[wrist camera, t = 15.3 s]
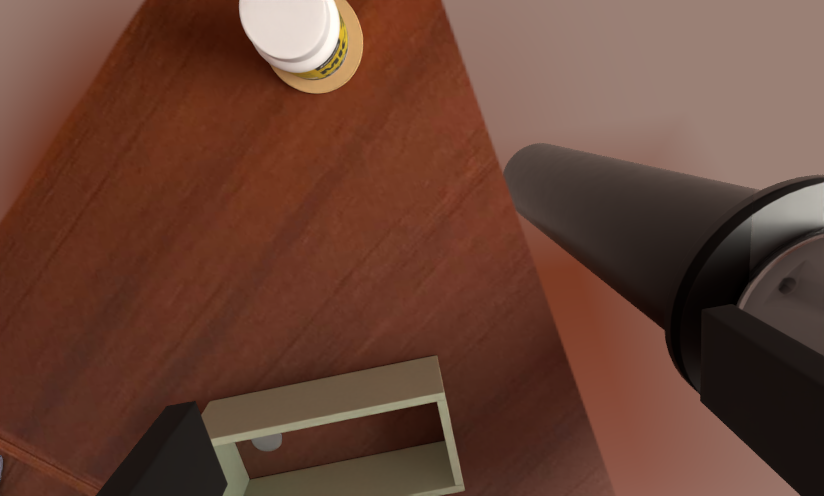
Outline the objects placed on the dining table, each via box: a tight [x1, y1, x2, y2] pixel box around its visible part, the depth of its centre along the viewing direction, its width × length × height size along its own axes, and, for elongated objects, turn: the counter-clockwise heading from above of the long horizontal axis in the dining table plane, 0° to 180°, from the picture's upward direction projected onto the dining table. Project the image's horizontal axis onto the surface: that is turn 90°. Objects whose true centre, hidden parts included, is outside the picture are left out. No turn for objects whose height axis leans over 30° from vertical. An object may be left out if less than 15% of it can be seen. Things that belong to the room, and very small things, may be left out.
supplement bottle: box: [239, 0, 349, 80], centre depth 24 cm, size 5×5×8 cm
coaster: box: [269, 0, 363, 94], centre depth 28 cm, size 6×6×1 cm
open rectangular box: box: [201, 355, 465, 496], centre depth 35 cm, size 19×9×5 cm, turn 101°
